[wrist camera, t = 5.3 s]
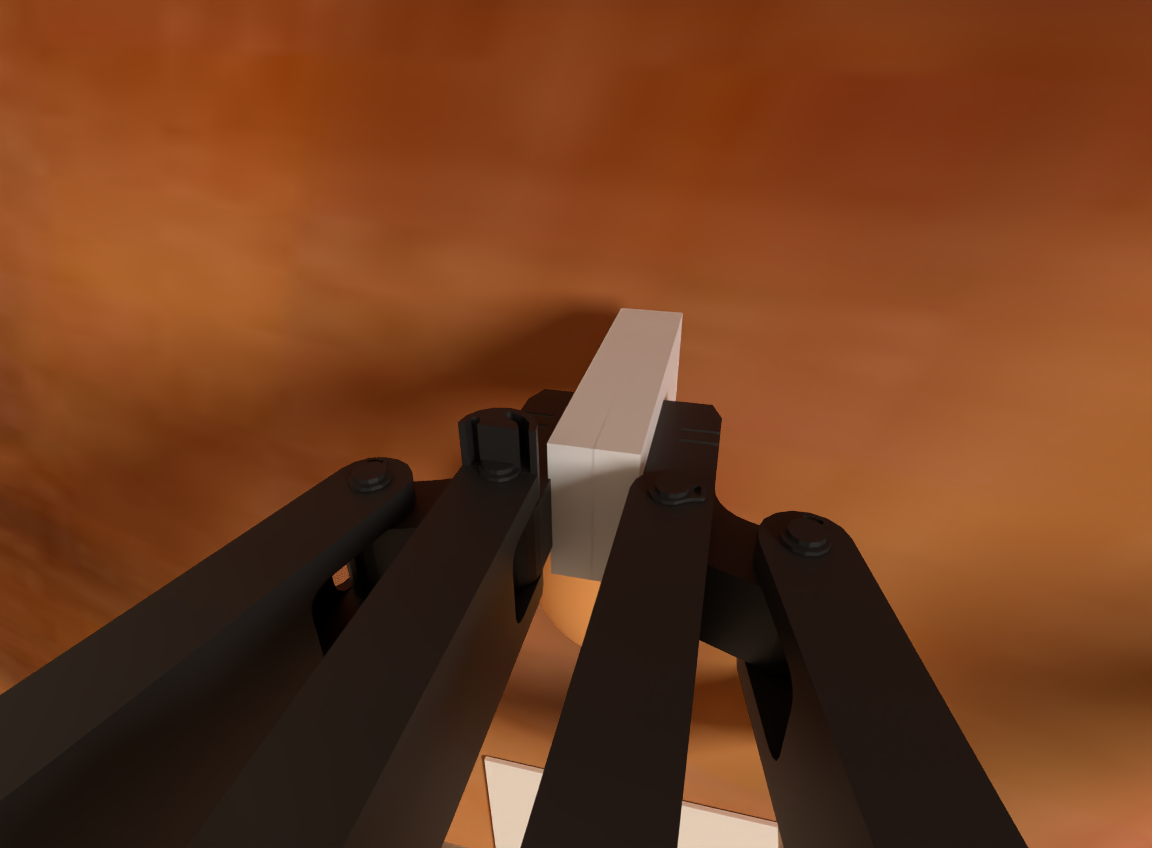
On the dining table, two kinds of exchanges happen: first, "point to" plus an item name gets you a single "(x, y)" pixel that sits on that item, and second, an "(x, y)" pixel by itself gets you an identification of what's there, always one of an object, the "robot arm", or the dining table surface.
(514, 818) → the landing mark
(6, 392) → the dining table surface
